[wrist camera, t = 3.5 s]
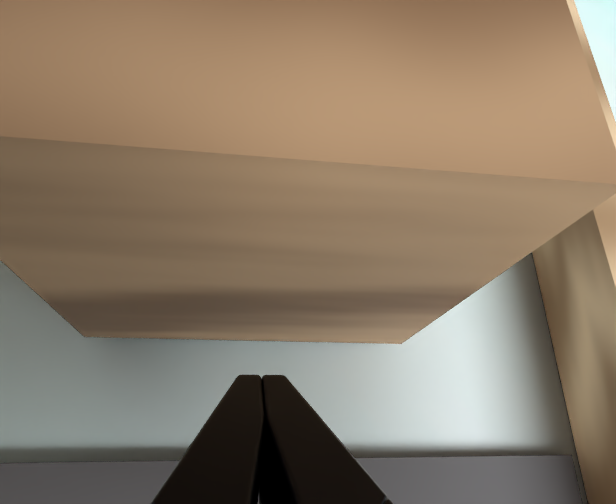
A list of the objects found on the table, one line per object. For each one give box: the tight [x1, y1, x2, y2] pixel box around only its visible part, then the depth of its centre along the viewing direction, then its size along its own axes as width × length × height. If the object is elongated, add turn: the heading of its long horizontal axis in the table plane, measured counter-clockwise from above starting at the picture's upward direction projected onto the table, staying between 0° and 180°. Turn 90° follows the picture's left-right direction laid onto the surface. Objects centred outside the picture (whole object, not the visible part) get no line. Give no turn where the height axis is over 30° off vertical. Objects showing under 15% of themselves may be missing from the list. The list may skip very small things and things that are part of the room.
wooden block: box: [0, 0, 616, 344], centre depth 12 cm, size 5×10×10 cm, turn 91°
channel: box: [532, 0, 616, 504], centre depth 15 cm, size 28×26×4 cm
